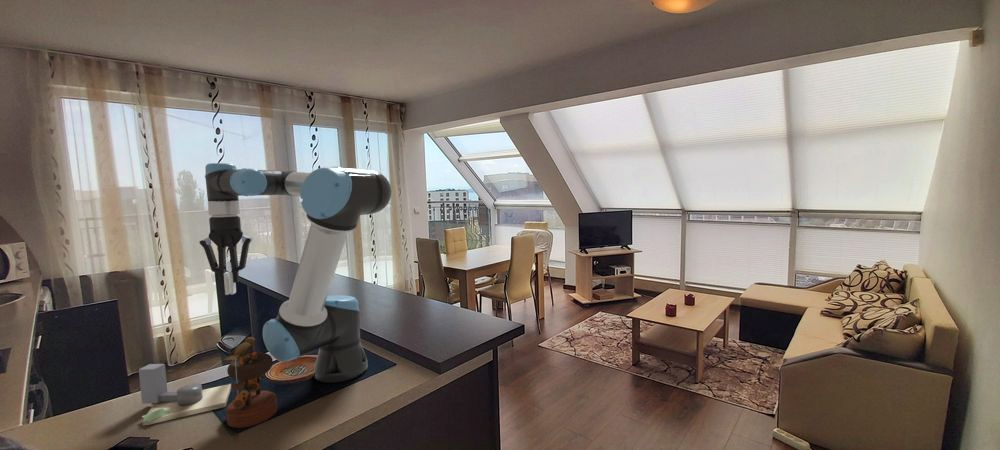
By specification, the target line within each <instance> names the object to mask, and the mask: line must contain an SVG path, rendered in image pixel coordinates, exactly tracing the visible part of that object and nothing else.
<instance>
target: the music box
mask: <svg viewBox="0 0 1000 450" xmlns="http://www.w3.org/2000/svg"><path fill="white" fill-rule="evenodd" d="M256 343H257V342H256V338H255V337H254V336H249V337H246V338H245V339H244V341H243V342H242V343H240V344H238V345H236V347H235V348H233V350H232V351H231V352H230V353H229V356H227V357H226V358H224V359H223V361H224V362H226V361H228V362H230V363H229V365H228V366H227V375H228V376H229V378H231V379H232V380H235V381H237V382H235V384H233V385H231V388H232V392H237V394H236V395H235V398H234V399H233V400H232V401H231V402H230V403H229V404H228V405H226V407H225V408H226V409H225V414H226V424H227V425H228V426H229V427H231V428H237V429H238V428H239V429H240V428H249V427H251V426H255V425H258V424H260V423H263V422H265V421H267V420H268V419H270V418H271V417H273V416H274V415H275V414H276V413H277V410H278V399H277V394H275V393H274V392H273V391H269V390H261V383H260V382H261V381H262V380H263V379H264V378H265V376H264V375H265V374H267V373H268V372H269V371H270V370H271V368H272V366H273V364H274V361H273V356H272V355H271V354H270V353H269V354H268V353H266V352H256V351H253V350H255V345H256ZM252 351H253V352H252ZM251 352H252V353H251ZM242 388H243V389H242ZM240 389H242V390H240ZM239 390H240V392H239Z"/></svg>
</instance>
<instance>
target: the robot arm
mask: <svg viewBox="0 0 1000 450" xmlns="http://www.w3.org/2000/svg"><path fill="white" fill-rule="evenodd" d="M204 168H205V175H204V178H205V186H206V197H207V198H206V199H207V207H208V208H207V211H208V216H210V217H209V218H208V222H209V233H208V237H206V238H204V239H201V240H199V244H200V246H202V247H203V250H204V252H205V255H206V258H207V261H208V264H209V267H210V269H211V272H213V273H214V272H215V273H218V274H219V281H220V284H221V285H223V284H224V295H225V296H228V295H234V294H236V293H237V284H236V283H238V282H240V276H239V275H240V273H239V271H242V270H244V269H245V268H246V265H247V258H248V254H249V248H250V247H249V246H250V244H251V243H252V241H253V237H251V236H250V237H249V236H247V235H244V232H243V231H242V227H241V226H242V225H241V216H239V215H240V200H239V196H242V197H243V196H244V197H253V196H254V197H255V196H289V197H300V199H302V201H301V202H300V204H301V206H302V207H301V208H303V211H304V212H305V213H306V215H305V216H306V219H307V221H309V223H310V225H309V229H308V232H307V236H306V240H305V244H304V247H303V251H302V254H301V257H300V260H299V263H298V268H297V270H296V271H297V272H296V274H295V277H294V281H293V284H292V285H293V286H292V288H291V291H290V295H289V299H288V300H286V301H283V302H282V304H281V305H280V307H279V310H278V311H277V316H276V318H271V319H269V320H267V321H266V322H265V323H264V324H263V327H262V338H263V343H264V345H265V347H266V350H267V351H268V353H269V355H270V356H271V357H272V358H274V359H275V360H276V361H278V362H281V363H287V362H290V361H291V362H292V361H293V360H298V359H299V358H301V357H303V356H306V355H307V354H309V353H311V352H314V351H316V350H318V353H317V356H316V360H315V362H314V367H313V372H314V371H315V373H316V375H315V377H314V379H315V380H316V381H318V382H322V383H329V384H330V383H340V382H346V381H348V380H351V379H355V378H357V377H359V376H360V374H361V375H362V374H364V373H365V372H366V371H367V369H368V364H369V363H368V358H367V355H366V353H365V350H364V348H363V346H362V343H361V328H360V327H361V325H360V323H361V322H360V309H359V308H360V307H359V300H358V298H356V297H354V296H351V295H343V294H342V295H339V294H337V295H335V294H334V295H329V292H330V288H331V285H332V283H333V279H334V277H335V273H336V270H337V266H338V264H339V261H340V259H341V254H342V252H343V248H344V245H345V243H346V238H347V235H348V233H350V232H353V231H354V230H356V229H357V225H358V224H359V223H358V222H359V221H360V217H361V216H364V215H374V214H377V213H379V212H381V211H382V210H384V209H385V208H386V207H387V206H388V204H389V202H390V201H391V198H392V194H393V193H392V192H393V191H392V187H391V183H390V181H389V180H388V179H387V177H385V175H384V174H383V173H380V172H379V171H377V170H374V169H367V168H352V167H351V168H348V167H340V166H330V167H319V168H317V169H314V170H313V171H311V172H303V171H296V170H295V171H294V170H270V169H269V170H268V169H267V170H266V169H265V170H263V169H255V168H247V167H246V168H241V169H238V168H237V166H236V165H235V164H233V163H225V162H224V163H222V162H220V163H219V162H217V163H215V162H213V163H207V164H206V165H205V167H204ZM239 242H241V243H242V246H241V252H240V256H239V257H240V258H239V260H238V251H237V248H238V246H237V245H238V244H239ZM212 243H214V245H215V246H216V248H217V254H218V255H217V256H218V258H216V254H215V252H214V249H213V246H212ZM227 248H228V251H229V258H230V259H229V260H230V268H231V271H228V269H227V253H226V250H227ZM217 259H218V260H217ZM365 370H366V371H365ZM364 371H365V372H364ZM363 372H364V373H363ZM358 375H359V376H358Z"/></svg>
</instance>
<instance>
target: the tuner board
mask: <svg viewBox="0 0 1000 450" xmlns="http://www.w3.org/2000/svg"><path fill="white" fill-rule="evenodd" d="M231 390H232V383H228V384H223V385H219V386H215V387H209V388H205V389H202V395H203V398H202V399H201V400H199V401H198V402H195V403H193V404H190V405H184V406H180V405H178V401H163V402H159V403H150V405H151V408H150V409H149V410H148V412H147V413H146V414H145V415H142V416H141V418H143V419H142V426H143V427H145V425H146V426H149V425H152V424H157V423H162V422H167V421H170V420H174V419H179V418H184V417H188V416H192V415H196V414H201V413H205V412H209V411H213V410H214V411H215V410H219V409H223V408H226V407H227V403H228V400H229V396H230V393H231Z"/></svg>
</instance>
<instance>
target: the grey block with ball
mask: <svg viewBox="0 0 1000 450" xmlns="http://www.w3.org/2000/svg"><path fill="white" fill-rule="evenodd" d="M166 371H167V370H166V364H165V363H149V364H147V365H145V366H143V367H140V368H139V369H138V376H139V388H140V395H141V397H140V398H141V404H152V403H159V402H163V401H178V405H180V406H184V405H190V404H193V403H195V402H198V401H199V400H201V399H202V398H203V395H202V390H203V386H202V384H201V383H197V382H196V383H191V384H186V385H184V386H182V387H179V388H178V389H177V390H176V391H169V390H168V381H167V373H166Z"/></svg>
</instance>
